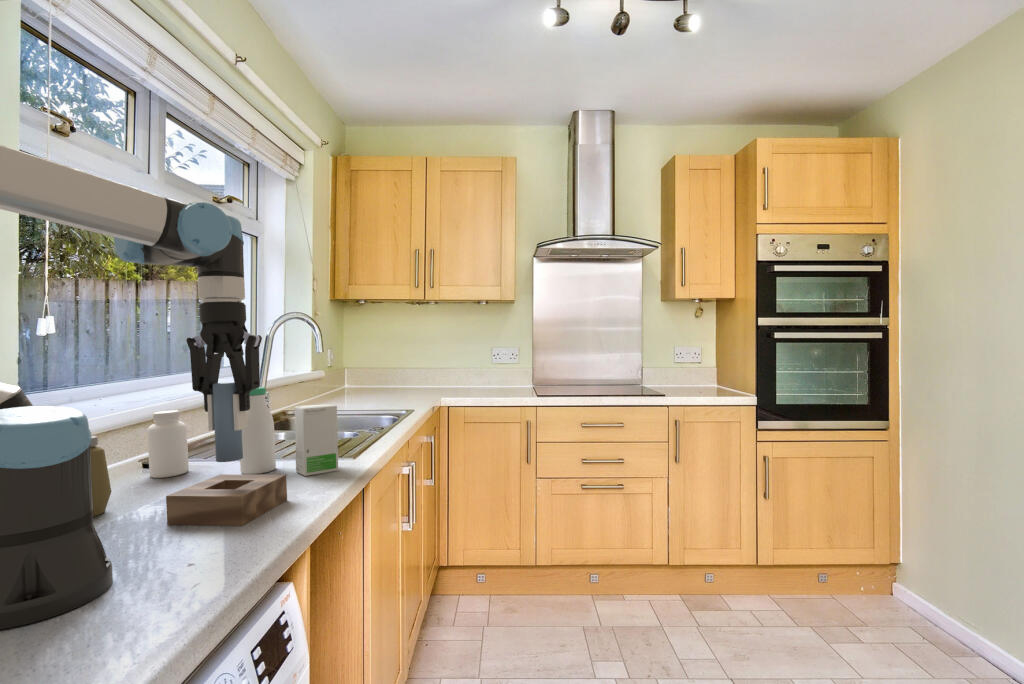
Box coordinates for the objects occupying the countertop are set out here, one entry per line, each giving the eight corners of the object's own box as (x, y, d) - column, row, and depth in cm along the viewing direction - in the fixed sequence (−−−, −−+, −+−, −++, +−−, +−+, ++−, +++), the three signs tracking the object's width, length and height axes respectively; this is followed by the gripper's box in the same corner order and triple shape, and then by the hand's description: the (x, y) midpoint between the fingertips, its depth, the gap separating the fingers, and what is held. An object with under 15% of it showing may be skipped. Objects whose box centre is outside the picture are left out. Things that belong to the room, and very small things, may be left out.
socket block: (242, 525, 91) (241, 496, 91) (167, 524, 93) (166, 495, 93) (287, 500, 105) (286, 474, 105) (220, 499, 107) (219, 474, 107)
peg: (233, 462, 97) (229, 384, 96) (210, 462, 97) (207, 384, 97) (248, 456, 101) (244, 381, 101) (226, 456, 102) (223, 382, 101)
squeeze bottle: (81, 524, 95) (77, 421, 95) (44, 522, 97) (40, 421, 96) (123, 509, 103) (119, 414, 103) (88, 507, 104) (84, 414, 104)
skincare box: (304, 477, 123) (301, 408, 122) (294, 472, 128) (292, 406, 127) (340, 470, 128) (337, 404, 128) (329, 465, 133) (327, 402, 133)
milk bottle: (282, 469, 131) (279, 386, 131) (252, 476, 124) (249, 390, 124) (263, 465, 135) (260, 385, 135) (233, 473, 128) (230, 389, 128)
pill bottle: (155, 472, 132) (152, 410, 132) (192, 468, 134) (190, 408, 134) (144, 480, 124) (141, 415, 124) (183, 476, 127) (181, 412, 127)
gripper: (278, 300, 101) (283, 425, 102) (193, 304, 103) (199, 426, 104) (254, 298, 94) (260, 432, 94) (163, 302, 96) (169, 433, 96)
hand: (228, 428), depth 99 cm, fingers closed on peg, 4 cm apart
